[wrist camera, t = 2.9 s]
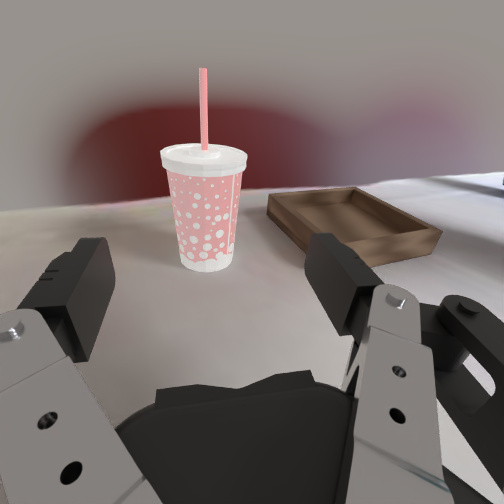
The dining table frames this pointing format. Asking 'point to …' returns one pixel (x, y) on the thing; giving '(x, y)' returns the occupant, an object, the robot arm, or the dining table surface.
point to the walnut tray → (353, 223)
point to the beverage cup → (204, 195)
